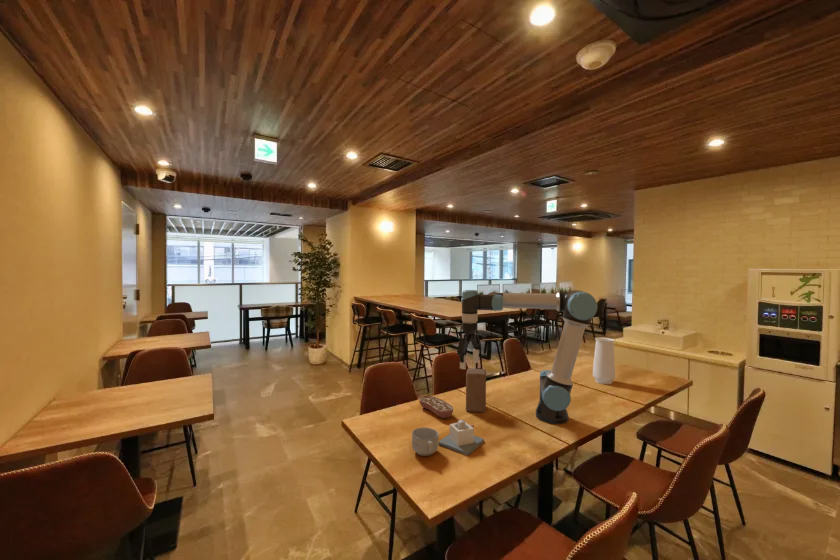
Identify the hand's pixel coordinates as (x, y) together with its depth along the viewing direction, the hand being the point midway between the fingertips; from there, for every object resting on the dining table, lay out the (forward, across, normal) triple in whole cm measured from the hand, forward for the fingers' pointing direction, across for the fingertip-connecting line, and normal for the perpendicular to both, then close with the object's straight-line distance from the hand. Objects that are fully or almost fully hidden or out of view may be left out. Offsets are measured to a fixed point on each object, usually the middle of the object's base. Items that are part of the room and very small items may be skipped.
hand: (469, 365), depth 169 cm
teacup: (+27, +38, +1) cm, 47 cm away
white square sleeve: (+25, +22, +9) cm, 34 cm away
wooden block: (+27, -14, -3) cm, 30 cm away
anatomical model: (+27, +2, -18) cm, 32 cm away
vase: (+27, -102, +44) cm, 114 cm away
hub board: (+26, +23, +8) cm, 36 cm away
